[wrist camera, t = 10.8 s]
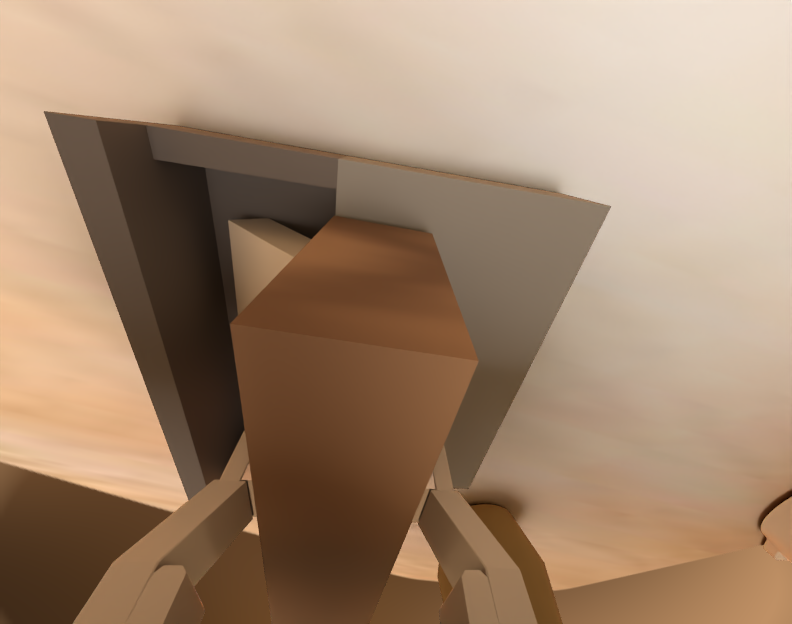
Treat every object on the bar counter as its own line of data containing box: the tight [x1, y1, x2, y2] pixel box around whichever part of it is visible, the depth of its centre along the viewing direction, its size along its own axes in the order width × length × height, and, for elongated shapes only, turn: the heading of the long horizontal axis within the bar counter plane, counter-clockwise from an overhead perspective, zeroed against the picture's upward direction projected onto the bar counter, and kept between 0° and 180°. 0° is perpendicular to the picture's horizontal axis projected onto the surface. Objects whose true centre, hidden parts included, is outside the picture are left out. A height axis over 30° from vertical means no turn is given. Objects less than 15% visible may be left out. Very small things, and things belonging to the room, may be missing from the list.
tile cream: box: [228, 218, 311, 315], centre depth 11 cm, size 4×4×2 cm
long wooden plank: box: [230, 216, 479, 624], centre depth 9 cm, size 3×13×6 cm, turn 170°
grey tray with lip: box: [44, 111, 611, 500], centre depth 13 cm, size 14×16×4 cm
